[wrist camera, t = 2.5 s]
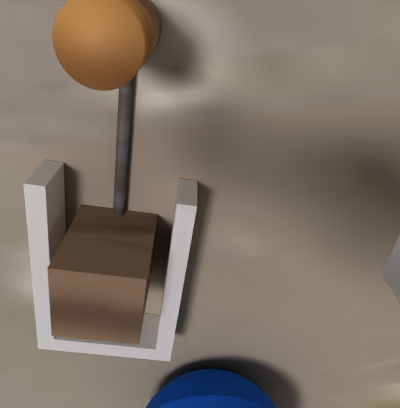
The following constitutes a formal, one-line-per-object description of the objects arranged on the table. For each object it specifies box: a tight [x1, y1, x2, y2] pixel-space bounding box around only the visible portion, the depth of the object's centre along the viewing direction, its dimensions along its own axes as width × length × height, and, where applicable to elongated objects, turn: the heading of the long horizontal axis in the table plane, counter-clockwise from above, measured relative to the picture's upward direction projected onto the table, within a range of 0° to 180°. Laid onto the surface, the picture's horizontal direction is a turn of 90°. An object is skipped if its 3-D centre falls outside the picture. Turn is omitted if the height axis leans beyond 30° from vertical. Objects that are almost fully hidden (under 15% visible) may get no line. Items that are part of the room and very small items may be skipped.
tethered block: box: [47, 0, 161, 344], centre depth 28 cm, size 25×7×10 cm, turn 171°
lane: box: [24, 160, 197, 361], centre depth 35 cm, size 19×13×4 cm
